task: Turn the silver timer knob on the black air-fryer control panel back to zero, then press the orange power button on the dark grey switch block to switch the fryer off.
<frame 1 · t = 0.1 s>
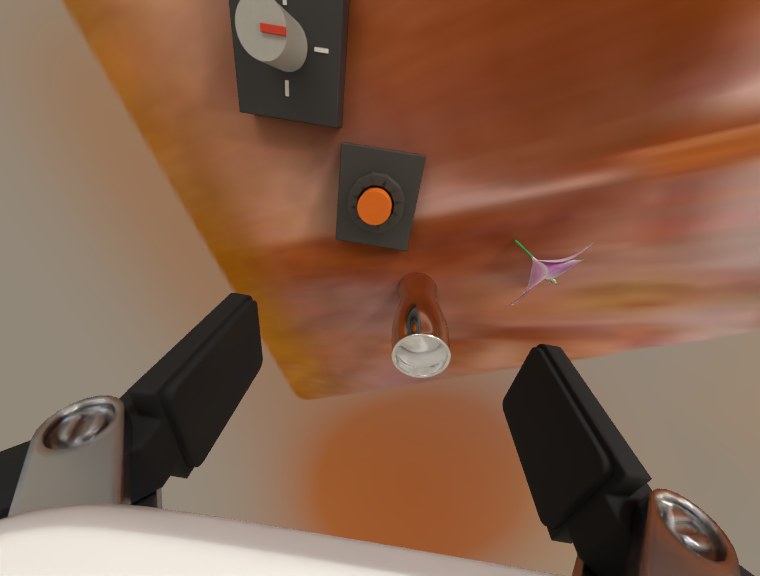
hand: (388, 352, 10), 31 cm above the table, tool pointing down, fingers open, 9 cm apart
power button: (374, 206, 34), point 5 cm above the table, slide at 0.1 cm
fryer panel: (296, 51, 31), on the table
power block: (378, 197, 38), on the table
timer knob: (274, 36, 25), point 6 cm above the table, hinge at 90.0°
beer glass: (417, 289, 44), on the table
lily: (531, 258, 40), on the table
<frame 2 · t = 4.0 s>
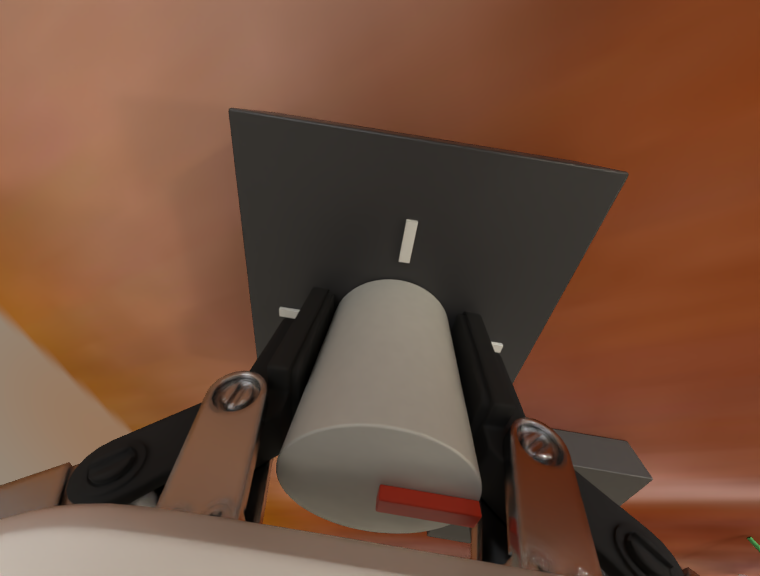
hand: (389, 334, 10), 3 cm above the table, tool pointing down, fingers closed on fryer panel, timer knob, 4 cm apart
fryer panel: (393, 289, 13), on the table
power block: (511, 476, 20), on the table
timer knob: (384, 390, 8), point 6 cm above the table, hinge at 90.0°, touching gripper
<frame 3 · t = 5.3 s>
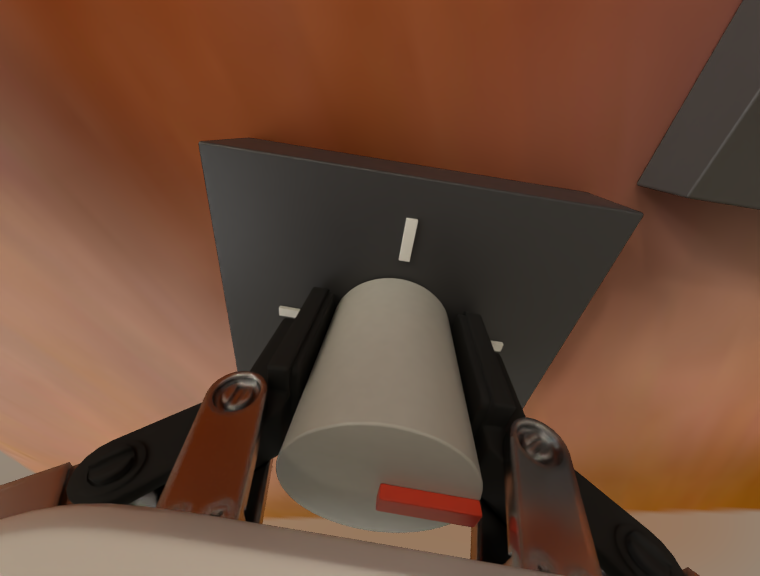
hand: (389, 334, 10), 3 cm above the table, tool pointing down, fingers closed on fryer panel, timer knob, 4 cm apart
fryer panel: (393, 288, 13), on the table
timer knob: (385, 389, 8), point 6 cm above the table, hinge at -0.6°, touching gripper
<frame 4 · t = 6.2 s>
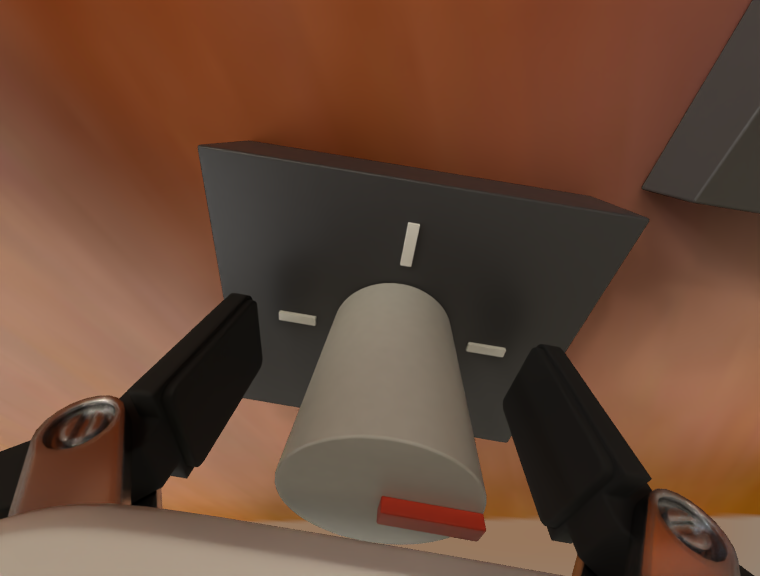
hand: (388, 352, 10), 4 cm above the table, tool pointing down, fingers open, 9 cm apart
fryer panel: (394, 292, 13), on the table
timer knob: (386, 397, 8), point 6 cm above the table, hinge at -0.6°
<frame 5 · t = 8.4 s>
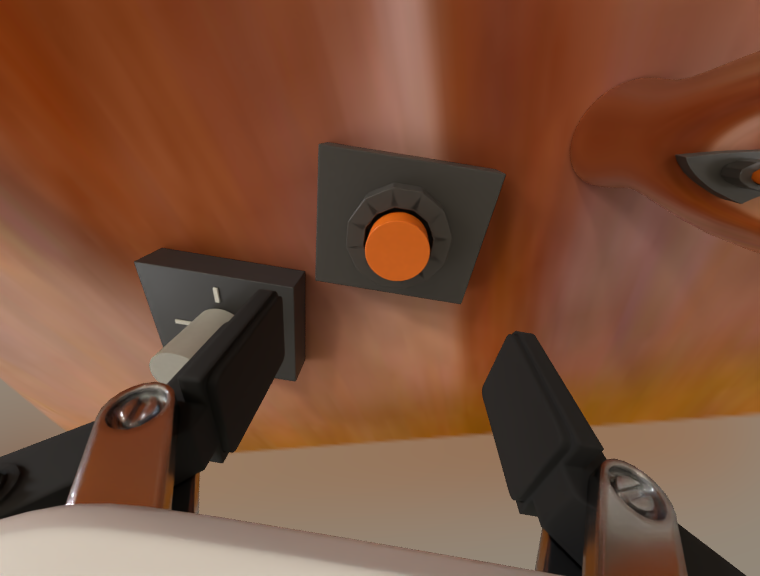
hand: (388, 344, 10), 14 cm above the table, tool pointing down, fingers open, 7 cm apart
power button: (397, 246, 18), point 5 cm above the table, slide at 0.1 cm
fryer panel: (240, 309, 28), on the table
power block: (399, 224, 22), on the table
timer knob: (202, 351, 23), point 6 cm above the table, hinge at -0.6°
beer glass: (618, 136, 18), on the table
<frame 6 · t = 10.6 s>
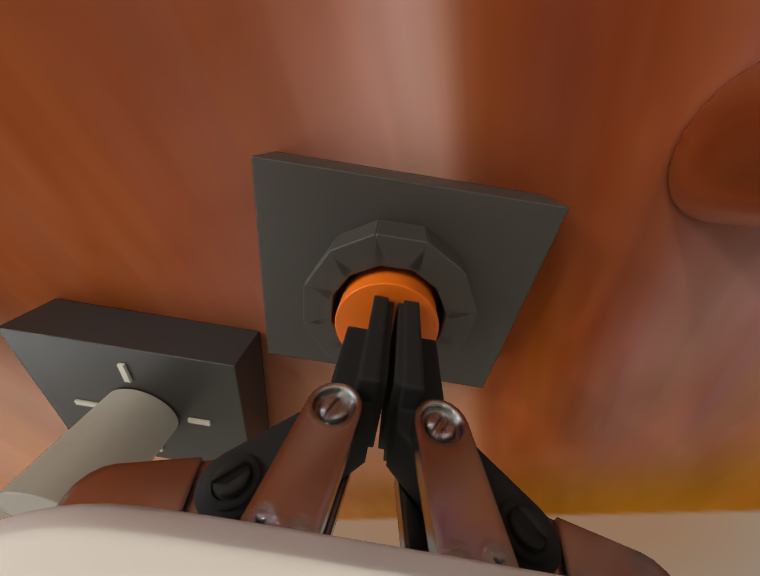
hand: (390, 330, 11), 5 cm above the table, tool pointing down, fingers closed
power button: (387, 313, 12), point 4 cm above the table, slide at -0.9 cm, touching gripper
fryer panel: (177, 375, 20), on the table
power block: (391, 273, 15), on the table
timer knob: (100, 459, 15), point 6 cm above the table, hinge at -0.6°
beer glass: (754, 144, 11), on the table
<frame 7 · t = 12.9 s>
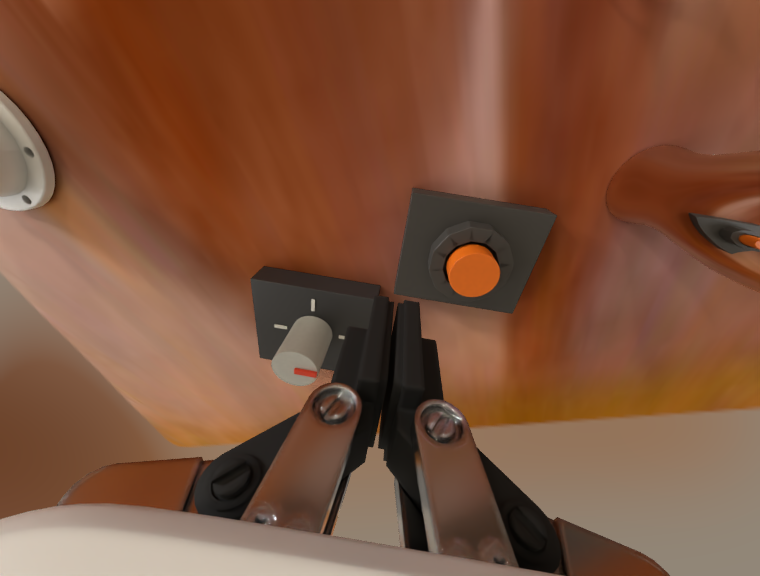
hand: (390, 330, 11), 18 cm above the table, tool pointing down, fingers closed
power button: (471, 270, 23), point 5 cm above the table, slide at 0.1 cm
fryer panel: (320, 315, 33), on the table
power block: (463, 249, 27), on the table
timer knob: (303, 350, 28), point 6 cm above the table, hinge at -0.6°
beer glass: (645, 185, 23), on the table
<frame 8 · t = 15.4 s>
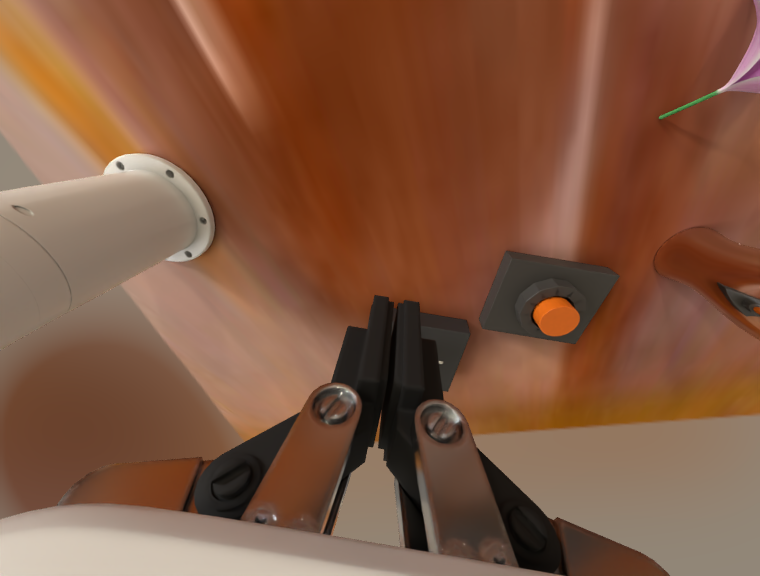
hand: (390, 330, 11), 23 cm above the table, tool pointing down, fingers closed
power button: (555, 316, 31), point 5 cm above the table, slide at 0.1 cm
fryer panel: (411, 342, 41), on the table
power block: (538, 294, 35), on the table
beer glass: (683, 252, 31), on the table
lily: (712, 74, 24), on the table
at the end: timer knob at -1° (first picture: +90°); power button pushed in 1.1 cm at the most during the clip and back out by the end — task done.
